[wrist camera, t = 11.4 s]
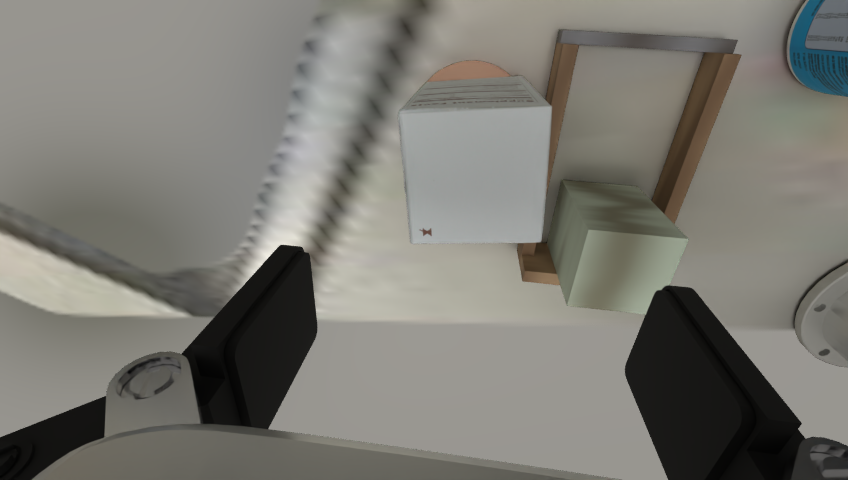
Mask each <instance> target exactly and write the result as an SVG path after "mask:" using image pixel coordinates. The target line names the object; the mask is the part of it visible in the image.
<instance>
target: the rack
mask: <svg viewBox="0 0 848 480" xmlns="http://www.w3.org/2000/svg"><path fill="white" fill-rule="evenodd" d="M737 41H738V40H731V39H714V38H697V37H680V36H663V35H645V34H628V33H611V32H593V31H576V30H559V32H558V37H557V42H556V48H555V53H554V58H553V63H552V69H551V74H550V79H549V84H548V90H547V95H546V101H547V102H548V103H549V104H550V105H551V106H552V118H551V136H550V149H549V162H548V176H547V189H546V196H547V191H548V187H549V182H550V177H551V173H552V168H553V163H554V159H555V154H556V149H557V145H558V140H559V135H560V131H561V126H562V121H563V117H564V112H565V108H566V103H567V98H568V94H569V89H570V84H571V80H572V75H573V70H574V66H575V61H576V56H577V52H578V47H579V45H577V44H580V45H597V46H613V47H630V48H646V49H663V50H680V51H696V52H705V53H704V56H703V58H702V61H701V64H700V67H699V70H698V72H697V75H696V78H695V81H694V84H693V86H692V89H691V92H690V95H689V98H688V100H687V103H686V106H685V109H684V112H683V115H682V117H681V120H680V123H679V126H678V129H677V131H676V134H675V137H674V140H673V143H672V145H671V148H670V151H669V154H668V157H667V159H666V162H665V165H664V168H663V171H662V174H661V176H660V179H659V182H658V185H657V188H656V190H655V193H654V196H653V199H652V201H651V200H650V199H649V198H648V197H647V196H646V195H645V194H644V193H643V192H642V191H641V190H640V189H639V188H638V187H637V186H627V185H616V184H604V183H592V182H581V181H569V180H562V181H561V185H560V189H559V194H558V198H557V202H556V207H555V211H554V215H553V220H552V224H551V228H550V233H549V237H548V241H547V243H539V242H537V243H518V248H517V253H518V258H519V264H520V270H521V275H522V281H525V282H535V283H544V284H553V285H561V289H562V292H563V295H564V298H565V301H566V304H567V306H573V307H583V308H592V309H601V310H610V311H619V312H628V313H637V314H646V313H647V310H648V308H649V306H650V303H651V301H652V298H653V296H654V294H655V292H656V291H657V290H662V288H664V287H665V286H667V285H670V282H671V280H672V278H673V275H674V273H675V271H676V268H677V266H678V263H679V261H680V259H681V256H682V254H683V252H684V249H685V247H686V245H687V242H688V240H689V239H688V238H687V237H686V236H685V235H684V234H683V233H682V232H681V231H680V230H679V229H678V227H677V226H676V225H675V224H674V223H675V221H676V218H677V216H678V213H679V211H680V208H681V206H682V203H683V201H684V198H685V196H686V193H687V191H688V188H689V186H690V183H691V181H692V178H693V176H694V173H695V171H696V168H697V166H698V163H699V161H700V158H701V156H702V153H703V151H704V148H705V146H706V143H707V140H708V138H709V135H710V133H711V130H712V128H713V125H714V123H715V120H716V118H717V115H718V113H719V110H720V108H721V105H722V103H723V100H724V98H725V95H726V93H727V90H728V88H729V85H730V83H731V80H732V78H733V75H734V73H735V70H736V68H737V65H738V63H739V60H740V58H741V55H739V54H733V52H734V49H735V46H736V44H737Z"/></svg>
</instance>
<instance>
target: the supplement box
mask: <svg viewBox="0 0 848 480" xmlns="http://www.w3.org/2000/svg"><path fill="white" fill-rule="evenodd" d="M551 118H552V106H551V105H550V104H549V103H548V102H547V101H546V100H545V99H544V98H543V97H542V96H541V94H540V93H539V92H538V91H537V90H536V89H535V88H534V87H533V86H532V85H531V84H530V83H529V82H528V81H527V80H526V79H525V78H524V77H523V76H510V77H496V78H479V79H464V80H448V81H433V82H426V83H425V84H424V85H423V86H422V87H421V88H420V89H419V91H417V93H416V94H415V95H414V96H413V97H412V98H411V99H410V100H409V101H408V102H407V104H406V105H405V106H404V107H403V108H402V109H400V110H399V112H398V122H399V133H400V142H401V152H402V162H403V173H404V188H405V194H406V202H407V212H408V224H409V234H410V243H411V244H448V243H537V242H541V241H542V234H543V225H544V214H545V201H546V189H547V176H548V162H549V149H550V136H551Z"/></svg>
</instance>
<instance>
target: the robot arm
mask: <svg viewBox="0 0 848 480" xmlns="http://www.w3.org/2000/svg"><path fill="white" fill-rule="evenodd" d="M795 332H796V335H797V337H798V339H799V341H800V343H801V344H802V345H803V346H804V347H805V348H806V349H807V350H808V351H809V352H810V353H811V354H812V355H813V356H815V357H816V358H818V359H820V360H822V361H824V362H826V363H829V364H832V365H836V366H841V367H848V263H846V264H844V265H843V266H841V267H839V268H837V269H836V270H834V271H832V272H831V273H830V274H828V275H827V276H826V277H824V278H823V279H822V280H820V281H819V282H818V283H817V284H816V285H815V286H814V287H813V288H812V289H811V290H810V291H809V292H808V294H807V295H806V297H805V298H804V299H803V301H802V302H801V304H800V306H799V309H798V311H797V313H796V318H795ZM316 334H317V318H316V309H315V299H314V290H313V281H312V271H311V262H310V255H309V253H306V252H304V250H303V248H302V247H298V246H289V245H280V246H279V247H278V248H277V249H276V250H275V251H274V252H273V253H272V255H271V256H270V257H269V258H268V259H267V260H266V261H265V262H264V263H263V265H262V266H261V267H260V268H259V269H258V270H257V271H256V272H255V273H254V275H253V276H252V277H251V278H250V279H249V280H248V281H247V282H246V283H245V285H244V286H243V287H242V288H241V289H240V290H239V291H238V292H237V293H236V294H235V295H234V296H233V297H232V299H231V300H230V301H229V302H228V303H227V304H226V305H225V306H224V307H223V309H222V310H221V311H220V312H219V313H218V314H217V315H216V316H215V317H214V318H213V320H212V321H211V322H210V323H209V324H208V325H207V326H206V327H205V329H204V330H203V331H202V332H201V333H200V334H199V335H198V336H197V337H196V338H195V340H194V341H193V342H192V343H191V344H190V345H189V346H188V347H187V349H185V351H184V352H183V353H182V354H180V353H175V352H158V353H154V354H149V355H146V356H144V357H141V358H139V359H137V360H135V361H133V362H131V363H130V364H128V365H126V366H125V367H123V368H122V369H121V370H120V371H119V372H118V373H116V374H115V376H114V377H113V378H112V380H111V381H110V382H109V385H108V388H107V391H106V396H105V397H102V398H100V399H97V400H94V401H92V402H89V403H87V404H84V405H82V406H79V407H76V408H74V409H71V410H69V411H66V412H64V413H61V414H59V415H56V416H54V417H51V418H48V419H46V420H44V421H41V422H38V423H36V424H33V425H31V426H28V427H25V428H23V429H20V430H18V431H15V432H13V433H10V434H8V435H5V436H3V437H0V480H620V479H614V478H607V477H601V476H594V475H587V474H581V473H574V472H567V471H561V470H554V469H548V468H541V467H534V466H527V465H520V464H513V463H507V462H499V461H493V460H486V459H479V458H472V457H465V456H458V455H451V454H444V453H438V452H431V451H424V450H417V449H409V448H403V447H396V446H388V445H382V444H374V443H367V442H360V441H353V440H346V439H339V438H331V437H324V436H317V435H310V434H302V433H294V432H285V431H277V430H269V429H268V428H269V426H270V424H271V422H272V420H273V419H274V417H275V415H276V413H277V411H278V408H279V407H280V405H281V403H282V401H283V399H284V397H285V395H286V394H287V392H288V390H289V388H290V386H291V384H292V382H293V380H294V378H295V376H296V374H297V372H298V370H299V369H300V367H301V365H302V363H303V361H304V359H305V357H306V355H307V353H308V351H309V350H310V348H311V346H312V344H313V342H314V340H315V338H316ZM625 375H626V379H627V381H628V384H629V386H630V389H631V391H632V393H633V396H634V398H635V401H636V403H637V405H638V408H639V410H640V413H641V415H642V417H643V420H644V422H645V425H646V427H647V429H648V432H649V434H650V437H651V439H652V442H653V444H654V446H655V449H656V451H657V454H658V456H659V458H660V461H661V463H662V466H663V468H664V470H665V473H666V475H667V478H668V480H848V446H847V445H844V444H842V443H840V442H837V441H834V440H830V439H827V438H822V437H810V438H807V439H805V438H804V436H803V435H802V434H801V433H800V431H799V430H798V428H799V427H800V425H801V424H802V423H801V422H800V421H799V419H798V418H797V417H796V416H795V414H794V413H793V412H792V411H791V409H790V408H789V407H788V406H787V404H786V403H785V402H784V401H783V399H782V398H781V397H780V396H779V395H778V393H777V392H776V391H775V390H774V388H773V387H772V386H771V385H770V383H769V382H768V381H767V380H766V379H765V377H764V376H763V375H762V373H761V372H760V371H759V370H758V369H757V367H756V366H755V365H754V364H753V362H752V361H751V360H750V359H749V357H748V356H747V355H746V354H745V352H744V351H743V350H742V349H741V348H740V346H739V345H738V344H737V343H736V341H735V340H734V339H733V338H732V336H731V335H730V334H729V333H728V331H727V330H726V329H725V328H724V326H723V325H722V324H721V323H720V321H719V320H718V319H717V318H716V317H715V315H714V314H713V313H712V312H711V310H710V309H709V308H708V307H707V305H706V304H705V303H704V302H703V300H702V299H701V298H700V297H699V295H698V294H697V293H696V292H695V291H694V290H693V289H692V288H688V287H678V286H669V285H667V286H665V287H664V288H662V290H657V291H656V292H655V294H654V296H653V298H652V301H651V303H650V306H649V308H648V310H647V313H646V315H645V318H644V320H643V323H642V325H641V328H640V330H639V333H638V335H637V338H636V340H635V343H634V345H633V348H632V350H631V353H630V355H629V358H628V360H627V363H626V366H625Z"/></svg>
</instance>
